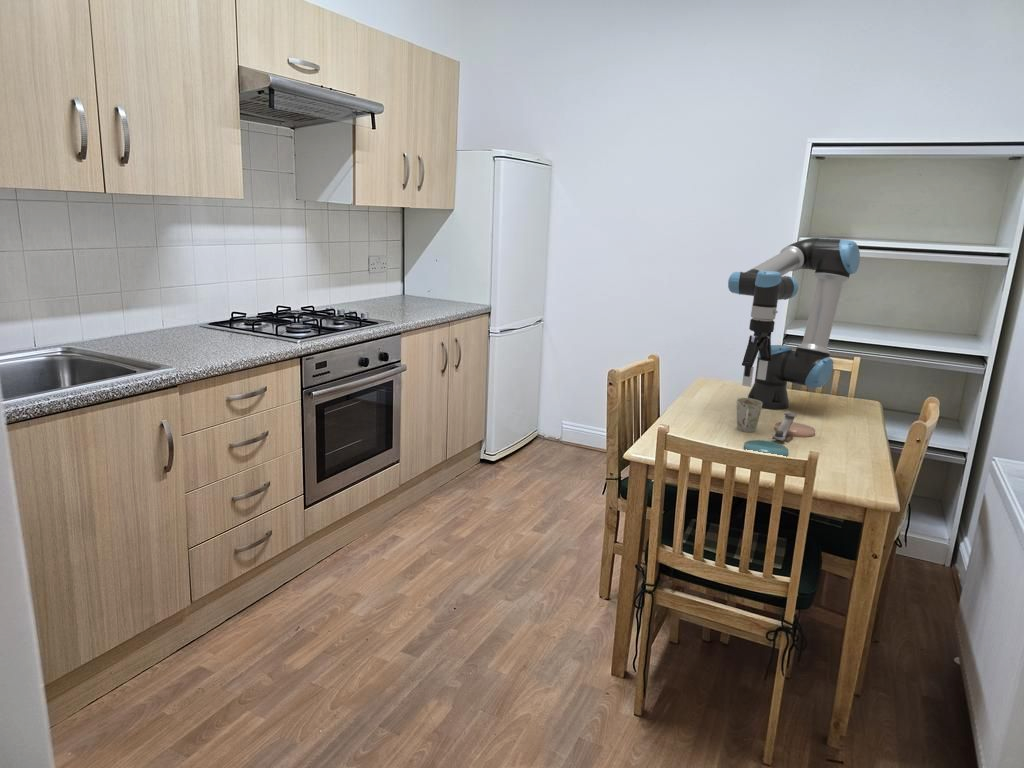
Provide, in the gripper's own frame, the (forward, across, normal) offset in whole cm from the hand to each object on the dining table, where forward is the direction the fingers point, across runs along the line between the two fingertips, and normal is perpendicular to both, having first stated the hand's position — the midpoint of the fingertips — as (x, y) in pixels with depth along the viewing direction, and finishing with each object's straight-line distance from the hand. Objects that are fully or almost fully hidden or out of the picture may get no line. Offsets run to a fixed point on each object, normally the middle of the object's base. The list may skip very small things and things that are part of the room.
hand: (753, 382), depth 230 cm
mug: (+17, 0, 0) cm, 17 cm away
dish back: (+17, +13, -12) cm, 24 cm away
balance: (+17, +1, -12) cm, 21 cm away
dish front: (+17, -15, -12) cm, 26 cm away
